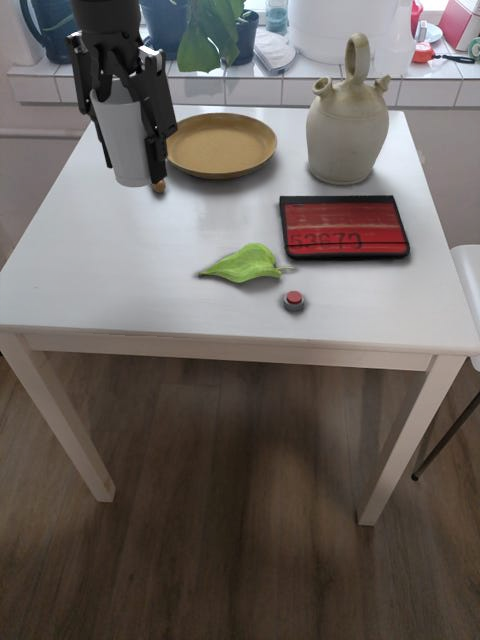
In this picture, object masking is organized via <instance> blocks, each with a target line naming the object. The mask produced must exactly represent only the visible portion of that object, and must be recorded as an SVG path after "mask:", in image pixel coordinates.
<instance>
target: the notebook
mask: <svg viewBox="0 0 480 640" xmlns="http://www.w3.org/2000/svg"><path fill="white" fill-rule="evenodd" d="M278 200H279V201H278V202H279V203H278V205H279V213H280V221H281V222H280V223H281V231H282V237H283V239H282V240H283V244H284V246H283V248H284V251H285V254H286V256H287V257H288V258H289V259H290V260H293V261H296V262H364V261H365V262H366V261H388V260H389V261H390V260H401V259H405V258H407V257H408V256H409V255H410V254H411V244H410V242H409V239H408V236H407V232H406V229H405V227H404V223H403V220H402V216H401V214H400V211H399V208H398V205H397V202H396V198H395V196H394V195H393V194H373V195H372V194H369V195H368V194H366V195H364V194H363V195H361V194H360V195H358V194H357V195H354V194H353V195H351V194H350V195H279V199H278Z"/></svg>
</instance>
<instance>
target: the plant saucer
mask: <svg viewBox="0 0 480 640" xmlns="http://www.w3.org/2000/svg"><path fill="white" fill-rule="evenodd" d="M176 122H177V126H178V131H177V132H175V133H174V134H173V135H171V136H170V137H169V138H167V139H166V143H167V151H168V157H167V158H166V160H167V161H168V162H169V163H170V164H171V165H172V166H174V167H175V168H176V169H178V170H179V171H181V172H183V173H185V174H187V175H190V176H193V177H196V178H199V179H206V180H229V179H236V178H239V177H243V176H246V175H248V174H251V173H253V172H255V171H257V170H259V169H261V167H263V166H264V165H265V164H267V163H268V162H269V161H270V160H271V158H272V157H273V155H274V153H275V152H276V149H277V148H278V137H277V135H276V133H275V131H274V130H273V129H272V128H271V126H269V125H268V124H266V123H265V122H264V121H262V120H259V119H257V118H255V117H252V116H249V115H245V114H241V113H234V112H205V113H199V114H196V115H191V116H188V117H186V118H183V119H180V120H178V121H176Z"/></svg>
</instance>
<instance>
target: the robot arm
mask: <svg viewBox="0 0 480 640" xmlns="http://www.w3.org/2000/svg"><path fill="white" fill-rule="evenodd" d="M140 3H141V2H140V0H69V4H70V8H71V12H72V17H73V21H74V25H75V26H76V27H77V29H78V30H77V31H75V32H72V33H71V34H69V35H67V36H64V38H63V39H64V41H63V42H64V44H65V46H66V48H67V49H66V50H67V51H68V54H69V57H70V61H71V69H72V74H73V81H74V88H75V93H76V100H77V107H78V111H79V113H80V114H81V115H82V116H86V115H87V116H88V117H89V118H90V120H91V121H92V122H93V124H94V127H95V131H96V132H95V133H96V136H97V140H98V142H99V143H101V148H102V151H103V156H104V160H105V165H106V168H108V169H110V170H112V169H113V166H112V163H111V160H110V157H109V153H108V150H107V147H106V144H105V141H104V138H103V134H102V131H101V128H100V125H99V122H98V119H97V116H96V113H95V110H94V107H93V104H92V101H91V98H90V92H91V90H92V89H95V92H96V95H97V99H98V102H101V103H103V102H105V101H106V100H107V99H108V98H109V97H110V96H111V88H112V80H113V77H114V76H115V77H116V78H117V79H120V81H121V83H122V85H123V87H124V88H127V89H128V91H129V93H130V96H131V98H132V100H133V102H137V101H139V102H140V109H141V120H142V122H143V125H144V127H145V129H146V131H147V134H148V136H149V137H147V138H146V139H144V141H145V147H146V153H147V159H148V165H149V171H150V177H151V185H152V184H155V185H156V184H157V183H159V182H160V181H161V180H162V179H163V180H164V179H165V178H166V177H168V171H167V169H168V168H167V163H166V160H167V157H168V151H167V143H166V139H167V138H169V137H170V136H171V135H173V134H174V133H175V132H177V131H178V126H177V122H178V121H177V118H176V112H175V109H174V104H173V100H172V99H173V98H172V95H171V90H170V86H169V82H168V77H167V76H168V75H167V72H166V66H167V65H166V64H167V55H166V52H165V51H164V49H162V48H159V49H158V50H153V49H151V48H150V47H147V46H146V44H145V42H144V39H143V38H142V36H141V32H140V28H141V27H140V26H141V22H142V11H141V4H140ZM133 74H134V75H133ZM148 97H149V98H148ZM146 98H148V99H147V100H145V99H146ZM155 127H156V128H155Z"/></svg>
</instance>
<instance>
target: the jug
mask: <svg viewBox="0 0 480 640" xmlns="http://www.w3.org/2000/svg"><path fill="white" fill-rule="evenodd" d="M370 65H371V47H370V42H369V39H368V37H367V35H366V34H365V33H363V32H355V33H353V34H352V35H351V36H350V37H349V38H348V40H347V43H346V46H345V52H344V70H345V74H346V77H345V79H344V80H343V81H340V82H336V83H334V84H333V78H332V77H331V76H328V75H326V76H322V77H320V78H319V79H318V80H317V81H315V82H314V83H313V85H312V88H311V92H312V93H313V94H314V95H315V96H316V97H314V99H313V101H312V103H311V105H310V107H309V110H308V112H307V115H306V122H305V138H306V140H305V141H306V148H307V160H308V167H309V171H310V173H311V174H312V175H313V176H314V177H315V178H317V179H318V180H320V181H321V182H323V183H326V184H330V185H333V186H334V185H335V186H352V185H355V184H358V183H361V182H363V181H364V180H366V179H367V178H368V176H369V175H370V173H371V172H372V169H373V167H374V166H375V163H376V161H377V159H378V157H379V155H380V154H381V151H382V149H383V146H384V144H385V142H386V139H387V138H388V133H389V127H390V114H389V113H390V112H389V108H388V106H387V103H386V100H385V98H384V96H383V95H384V93H386V92H388V90H389V84H390V82H391V79H392V77H391V75H390V74H388V73H386V74H384V75H382V76H381V77H379V78H376V79H374V83H373V84H371V85H370V84H366V83H365V81H366V80H367V78H368V75H369V72H370Z"/></svg>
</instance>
